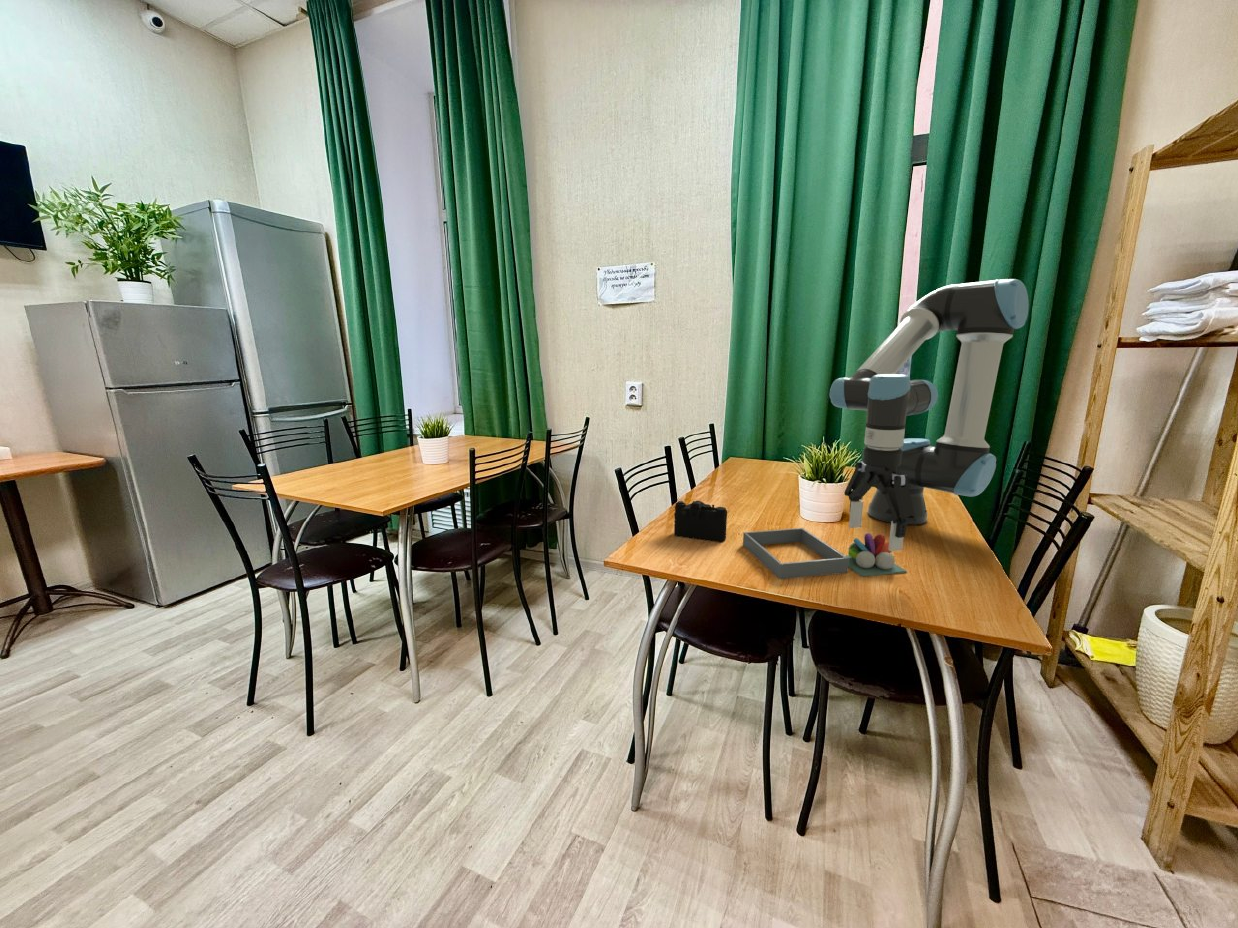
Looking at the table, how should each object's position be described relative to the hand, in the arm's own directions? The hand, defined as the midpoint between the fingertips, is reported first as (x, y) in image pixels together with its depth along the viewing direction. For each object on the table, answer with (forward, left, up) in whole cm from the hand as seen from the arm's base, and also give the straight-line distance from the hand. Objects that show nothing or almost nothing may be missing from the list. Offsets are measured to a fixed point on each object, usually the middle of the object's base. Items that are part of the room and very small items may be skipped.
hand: (873, 537), depth 111 cm
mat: (0, 0, -7) cm, 7 cm away
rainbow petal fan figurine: (0, 0, -6) cm, 6 cm away
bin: (+16, -7, -7) cm, 19 cm away
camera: (+31, -26, -7) cm, 42 cm away
